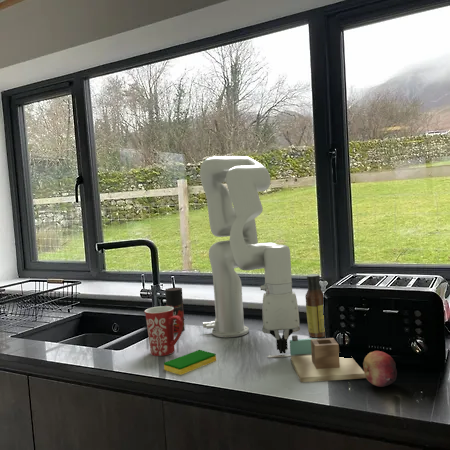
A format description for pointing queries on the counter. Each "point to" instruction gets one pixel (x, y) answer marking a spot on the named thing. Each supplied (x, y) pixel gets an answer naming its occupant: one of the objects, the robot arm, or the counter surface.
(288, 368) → the counter surface
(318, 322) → the sauce bottle
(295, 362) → the seat
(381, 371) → the fruit
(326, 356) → the block
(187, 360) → the dish sponge
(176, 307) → the deodorant
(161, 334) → the mug
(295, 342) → the bar
